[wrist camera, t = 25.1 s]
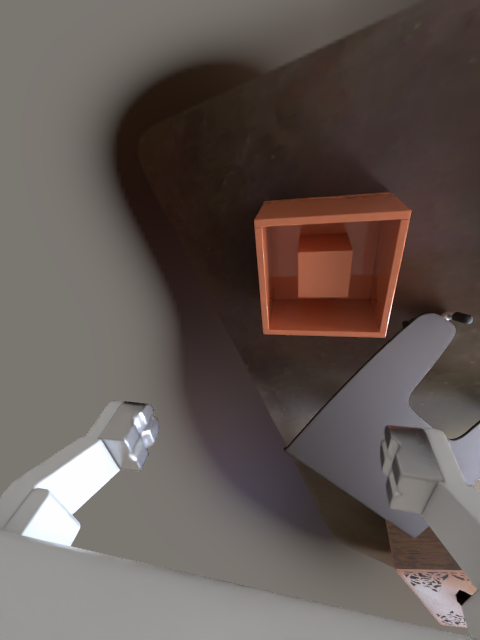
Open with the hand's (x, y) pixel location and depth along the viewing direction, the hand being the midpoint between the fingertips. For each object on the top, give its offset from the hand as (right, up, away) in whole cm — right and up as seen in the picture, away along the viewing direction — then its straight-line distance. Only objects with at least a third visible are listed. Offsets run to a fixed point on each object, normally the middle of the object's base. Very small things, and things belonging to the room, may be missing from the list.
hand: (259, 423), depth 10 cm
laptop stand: (+22, -6, +27) cm, 35 cm away
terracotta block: (+8, +10, +19) cm, 23 cm away
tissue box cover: (+38, -36, +45) cm, 69 cm away
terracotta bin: (+8, +10, +20) cm, 23 cm away
